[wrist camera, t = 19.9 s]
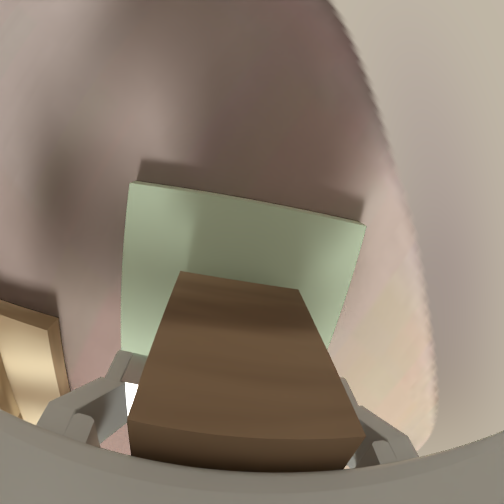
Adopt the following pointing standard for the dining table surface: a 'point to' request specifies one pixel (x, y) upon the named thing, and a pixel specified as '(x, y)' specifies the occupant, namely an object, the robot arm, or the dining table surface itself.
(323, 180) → the dining table surface
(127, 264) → the sage pad
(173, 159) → the dining table surface
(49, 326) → the well board
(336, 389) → the walnut block
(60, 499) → the robot arm
